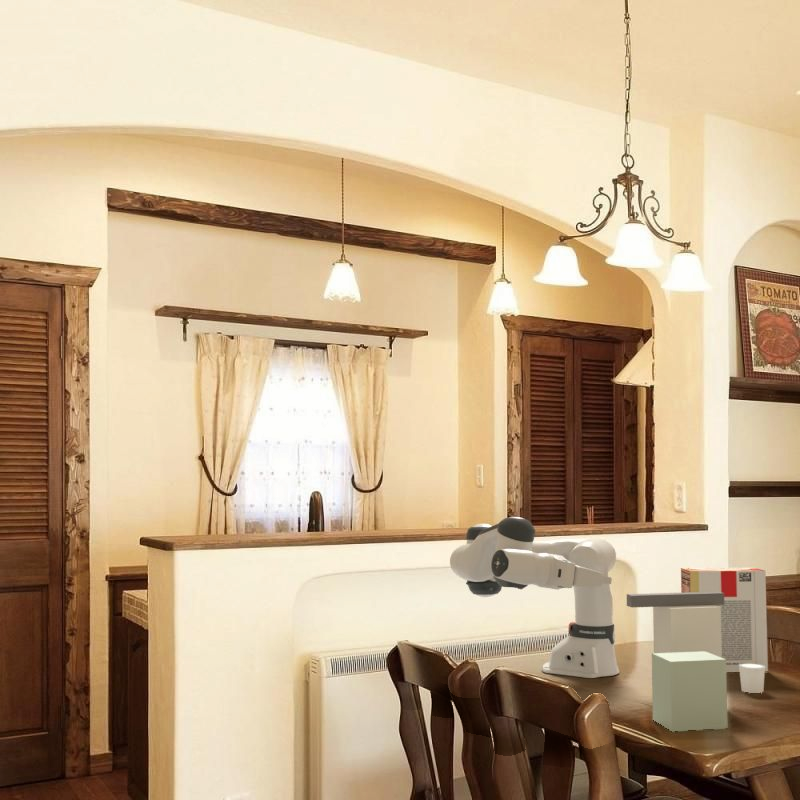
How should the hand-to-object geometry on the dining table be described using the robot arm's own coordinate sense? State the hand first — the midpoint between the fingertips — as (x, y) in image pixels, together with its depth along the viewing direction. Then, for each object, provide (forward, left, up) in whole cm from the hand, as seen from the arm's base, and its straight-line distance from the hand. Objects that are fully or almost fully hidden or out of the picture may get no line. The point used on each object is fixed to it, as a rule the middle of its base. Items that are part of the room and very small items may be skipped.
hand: (601, 578), depth 251 cm
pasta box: (+30, +51, -32) cm, 67 cm away
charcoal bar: (+18, +6, -7) cm, 20 cm away
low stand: (+22, -15, -32) cm, 42 cm away
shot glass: (+37, +25, -32) cm, 55 cm away
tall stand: (+21, +7, -32) cm, 39 cm away
